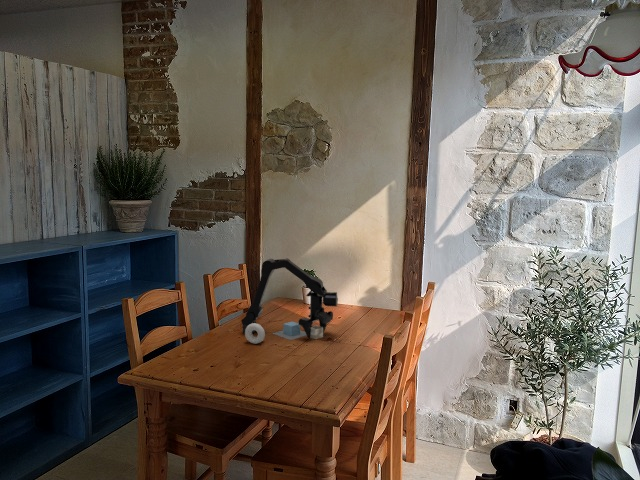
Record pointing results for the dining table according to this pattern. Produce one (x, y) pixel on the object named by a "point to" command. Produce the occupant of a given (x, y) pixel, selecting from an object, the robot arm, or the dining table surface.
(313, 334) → the top brick
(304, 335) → the base mat
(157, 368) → the dining table surface
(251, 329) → the donut
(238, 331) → the dining table surface
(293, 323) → the bottom brick
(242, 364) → the dining table surface
